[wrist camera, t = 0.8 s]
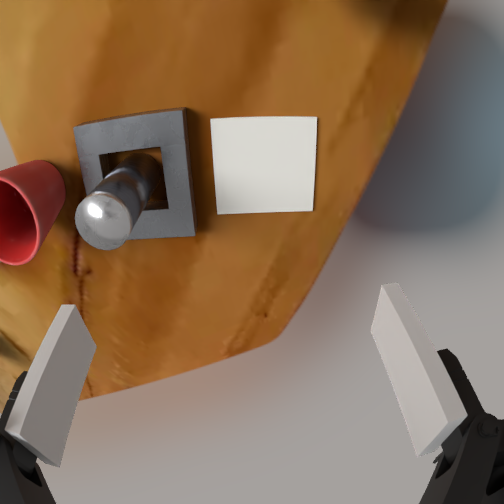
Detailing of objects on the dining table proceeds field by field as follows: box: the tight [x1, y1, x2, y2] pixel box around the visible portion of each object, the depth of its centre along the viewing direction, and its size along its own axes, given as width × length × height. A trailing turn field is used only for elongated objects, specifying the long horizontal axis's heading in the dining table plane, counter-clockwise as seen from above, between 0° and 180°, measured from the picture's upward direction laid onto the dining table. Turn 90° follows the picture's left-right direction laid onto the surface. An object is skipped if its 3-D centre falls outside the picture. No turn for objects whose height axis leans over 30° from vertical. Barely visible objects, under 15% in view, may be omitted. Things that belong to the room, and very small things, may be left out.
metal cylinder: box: [75, 153, 161, 250], centre depth 29 cm, size 5×5×12 cm
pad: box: [211, 116, 317, 214], centre depth 34 cm, size 11×11×1 cm
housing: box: [73, 107, 198, 240], centre depth 33 cm, size 14×12×2 cm
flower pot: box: [0, 160, 66, 265], centre depth 30 cm, size 11×11×10 cm
